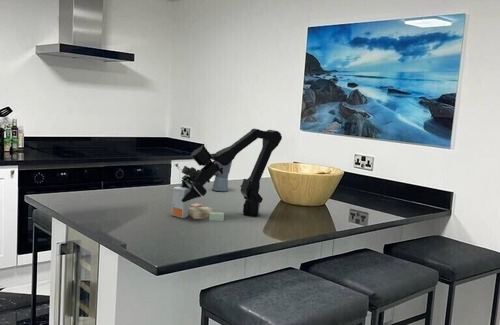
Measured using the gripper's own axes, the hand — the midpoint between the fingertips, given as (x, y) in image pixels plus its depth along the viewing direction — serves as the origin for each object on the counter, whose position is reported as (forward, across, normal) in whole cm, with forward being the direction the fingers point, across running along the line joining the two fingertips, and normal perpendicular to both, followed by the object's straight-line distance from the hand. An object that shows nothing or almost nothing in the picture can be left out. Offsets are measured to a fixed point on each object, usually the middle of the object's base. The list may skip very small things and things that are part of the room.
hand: (179, 199), depth 205 cm
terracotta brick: (-2, -8, +12) cm, 15 cm away
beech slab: (-2, 0, +12) cm, 13 cm away
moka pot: (-22, -54, +32) cm, 67 cm away
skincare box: (+5, 0, +6) cm, 8 cm away
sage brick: (-5, +7, +15) cm, 18 cm away
